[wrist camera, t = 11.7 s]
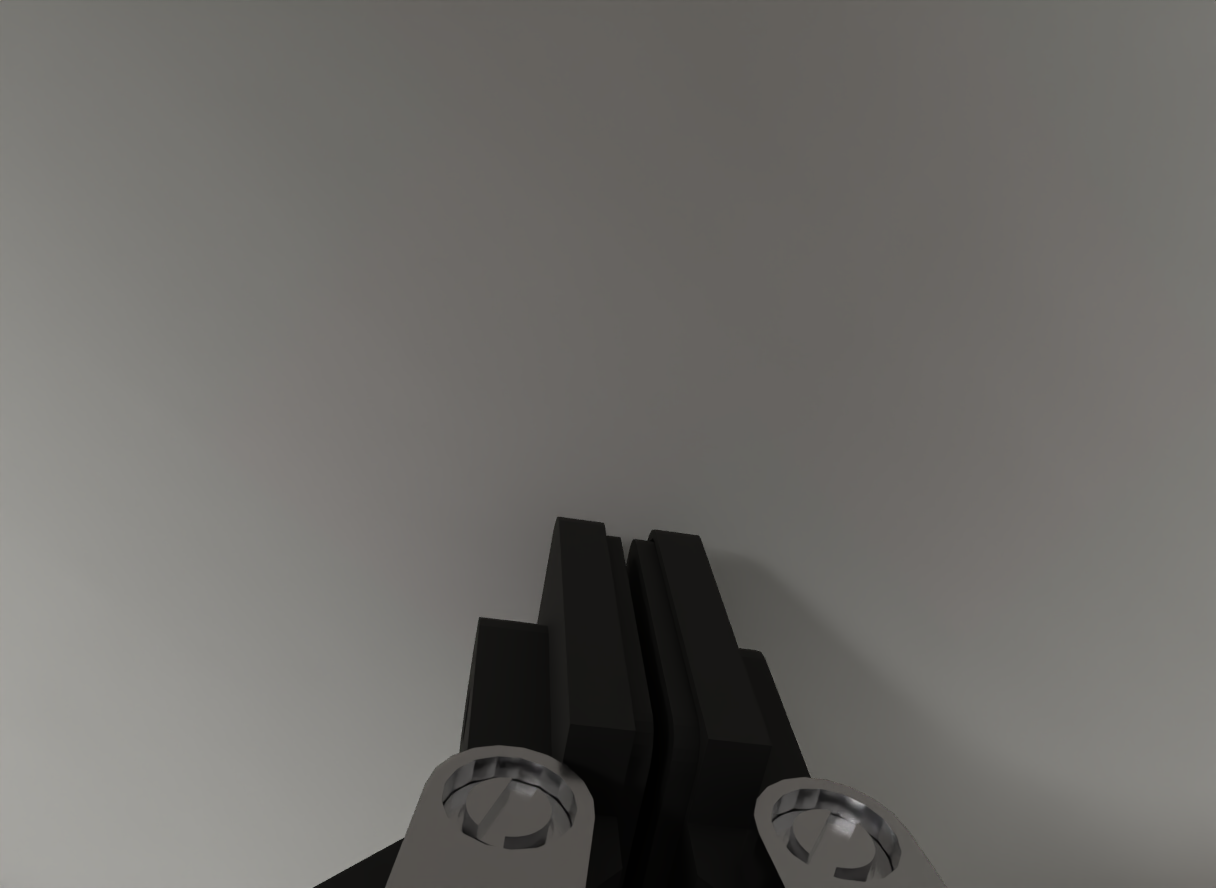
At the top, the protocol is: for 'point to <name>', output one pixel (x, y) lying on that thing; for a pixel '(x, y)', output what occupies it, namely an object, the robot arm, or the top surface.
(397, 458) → the top surface
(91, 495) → the top surface
